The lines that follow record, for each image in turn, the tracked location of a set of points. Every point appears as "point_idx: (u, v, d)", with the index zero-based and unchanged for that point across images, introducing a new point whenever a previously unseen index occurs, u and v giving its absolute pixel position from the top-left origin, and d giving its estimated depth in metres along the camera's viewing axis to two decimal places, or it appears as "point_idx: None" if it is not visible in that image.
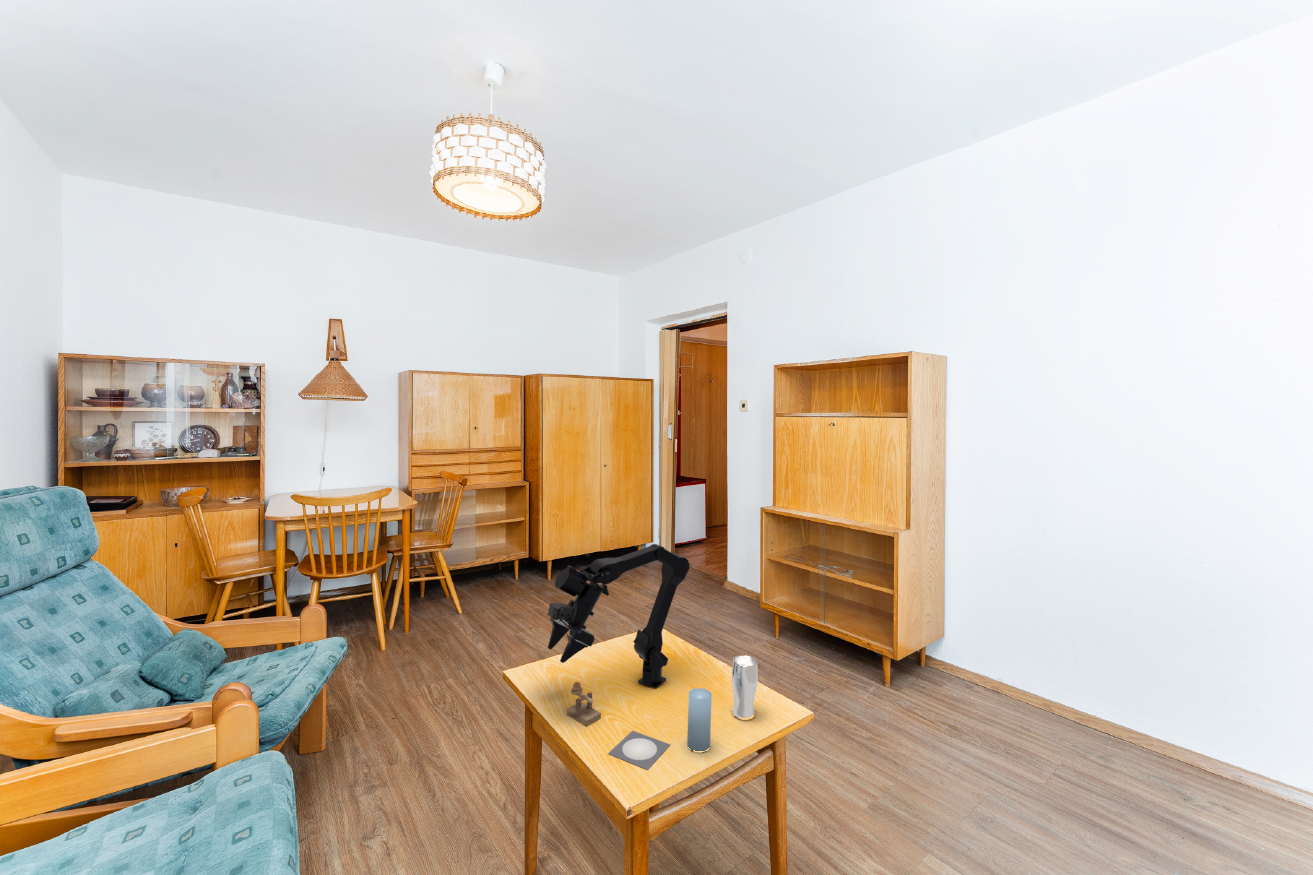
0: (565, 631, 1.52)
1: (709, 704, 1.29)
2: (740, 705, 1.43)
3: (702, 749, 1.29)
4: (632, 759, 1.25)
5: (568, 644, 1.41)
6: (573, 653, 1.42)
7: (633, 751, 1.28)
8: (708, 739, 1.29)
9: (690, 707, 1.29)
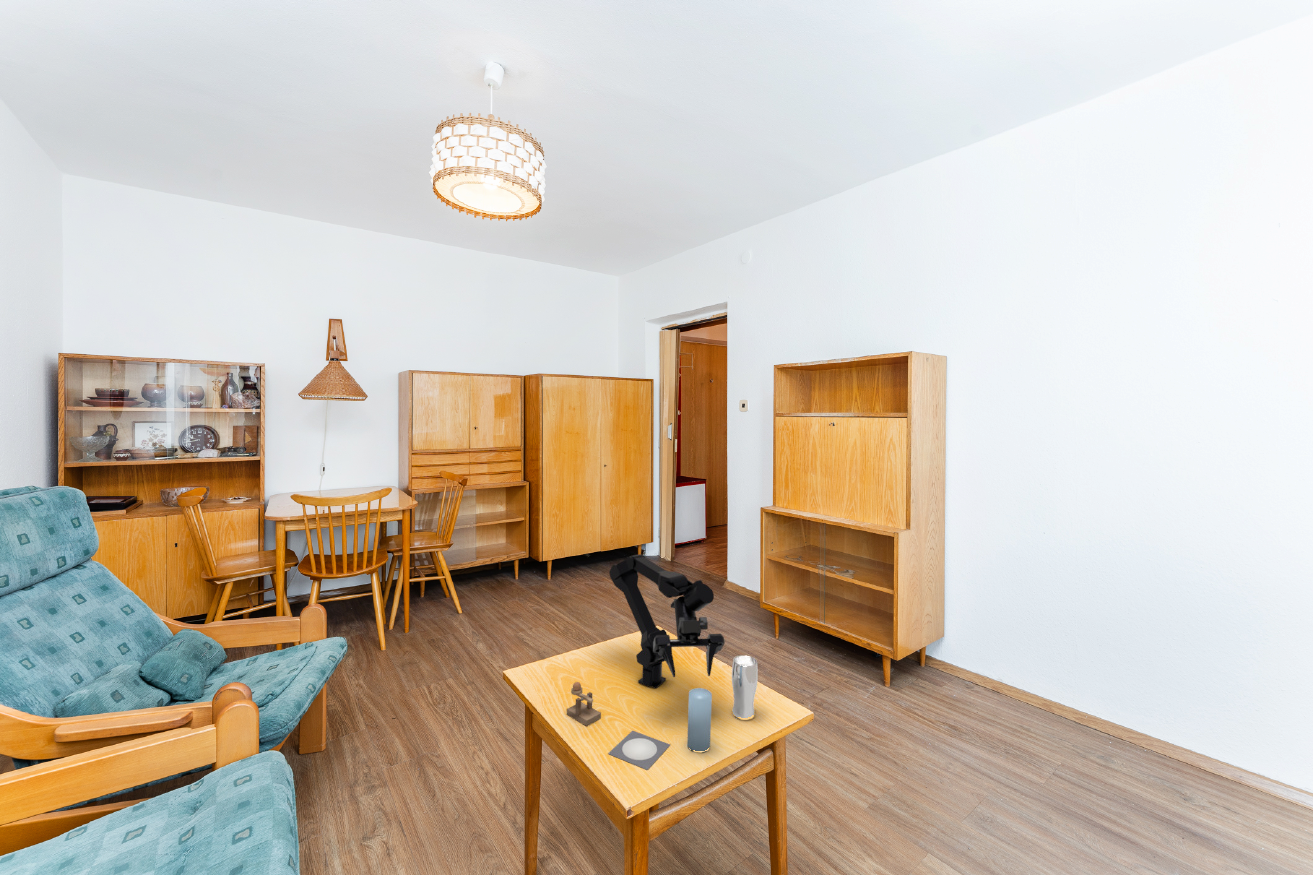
0: None
1: (710, 704, 1.29)
2: (740, 705, 1.43)
3: (702, 749, 1.29)
4: (632, 759, 1.25)
5: (711, 654, 1.41)
6: None
7: (633, 751, 1.28)
8: (708, 739, 1.29)
9: (690, 707, 1.29)
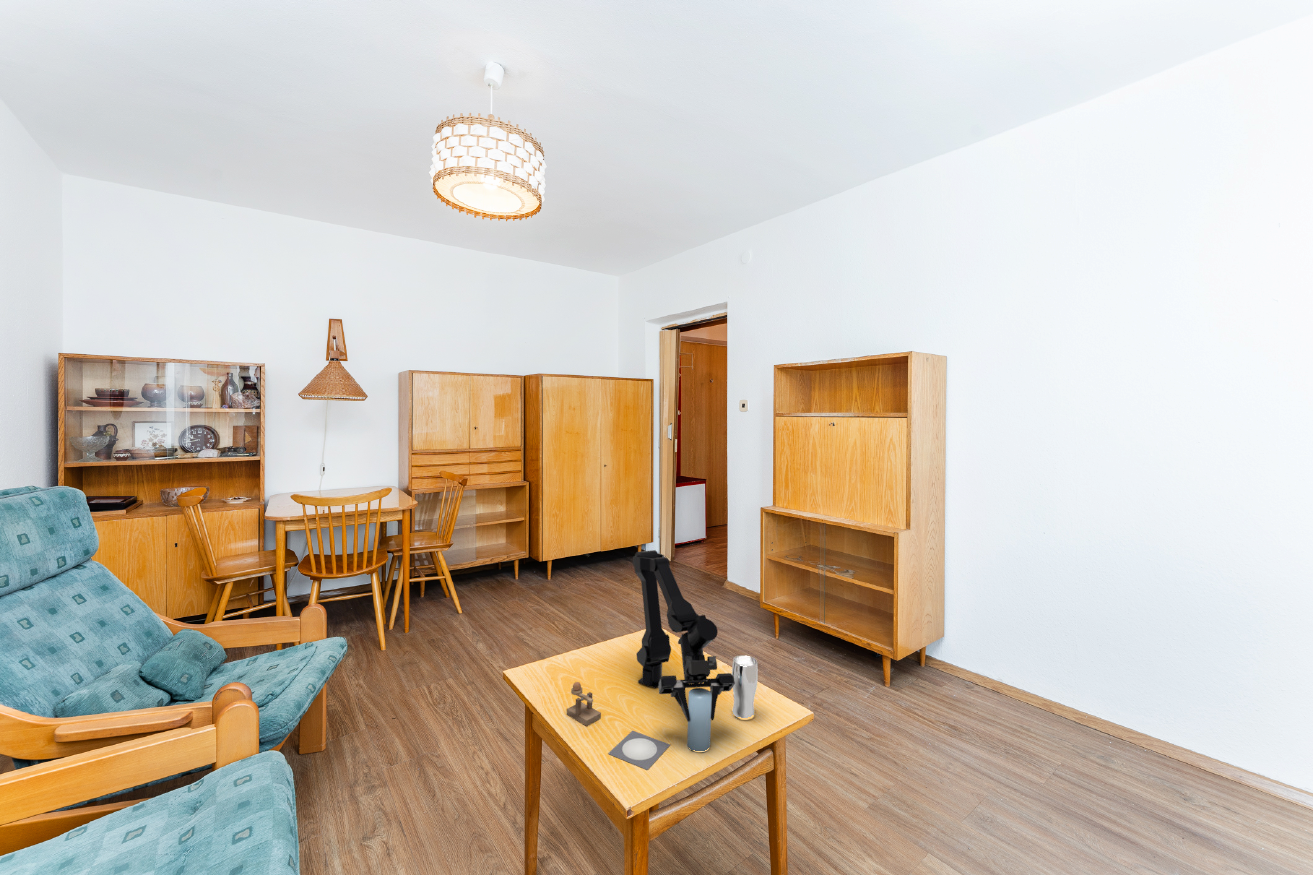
0: None
1: (709, 704, 1.29)
2: (740, 705, 1.43)
3: (702, 749, 1.28)
4: (632, 759, 1.25)
5: (715, 696, 1.32)
6: None
7: (633, 751, 1.28)
8: (708, 739, 1.29)
9: (690, 707, 1.29)
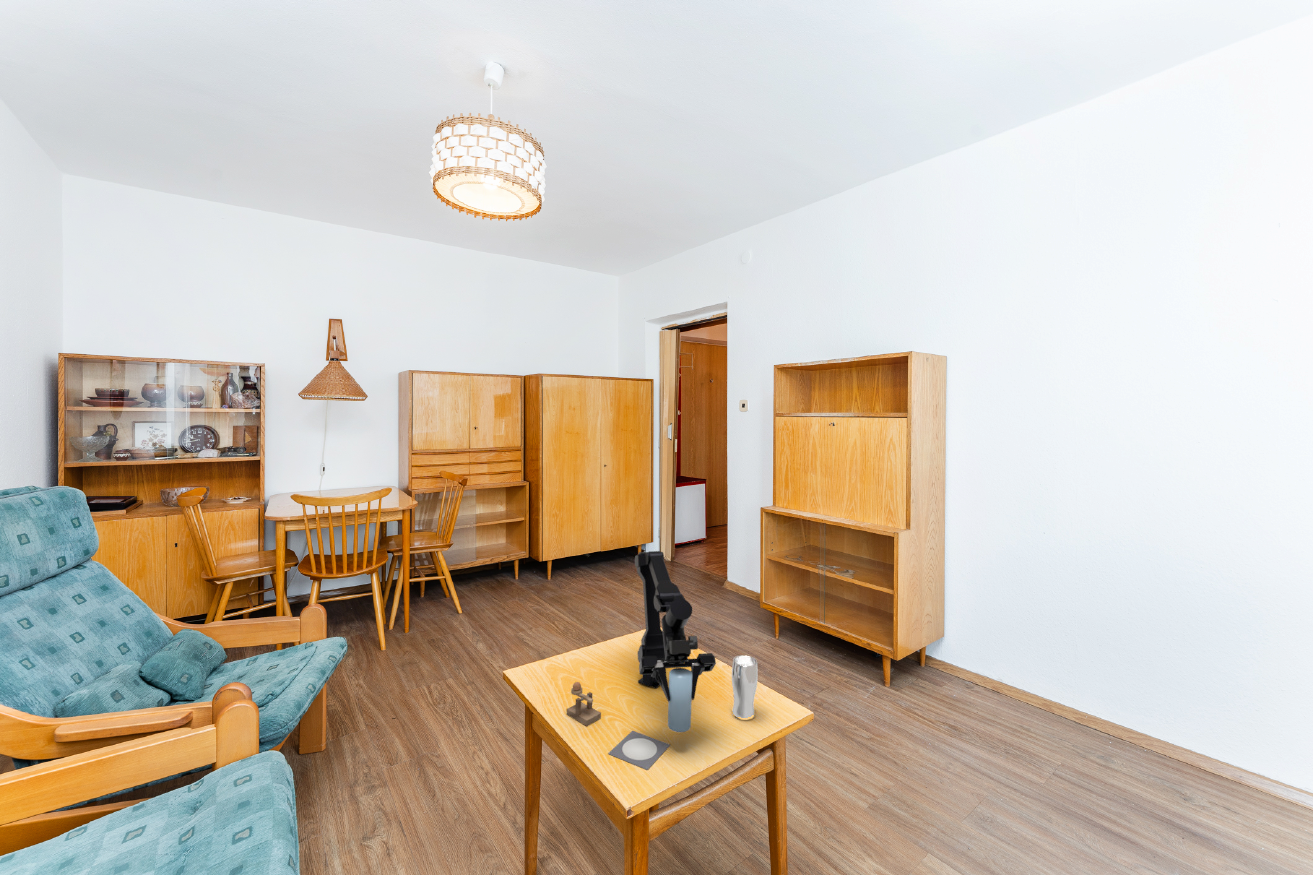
0: None
1: (690, 683, 1.28)
2: (740, 705, 1.43)
3: (682, 728, 1.28)
4: (632, 759, 1.25)
5: (695, 676, 1.32)
6: None
7: (633, 751, 1.28)
8: (689, 718, 1.29)
9: (670, 686, 1.28)
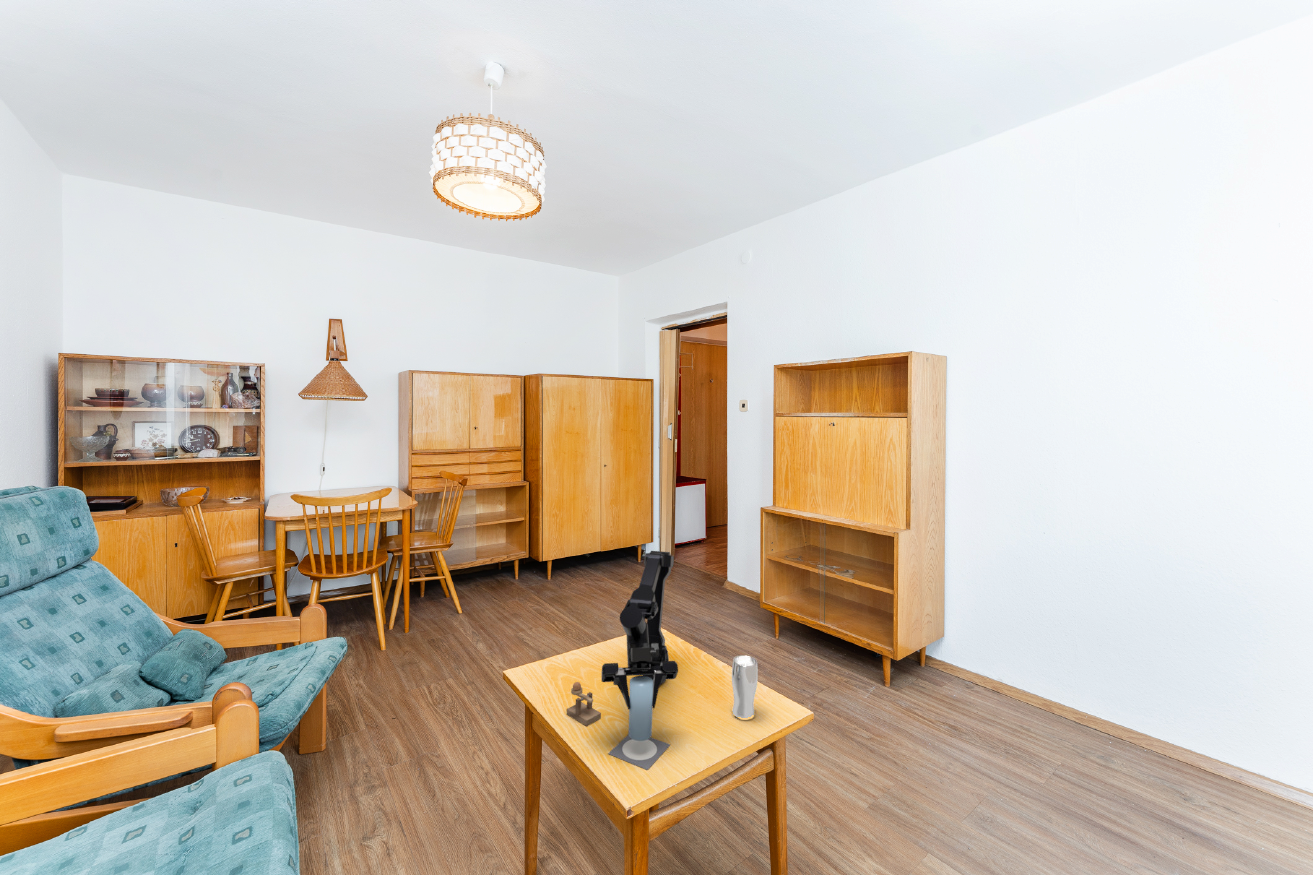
0: None
1: (650, 691, 1.27)
2: (740, 705, 1.43)
3: (642, 737, 1.26)
4: (632, 759, 1.25)
5: (657, 684, 1.30)
6: None
7: (633, 751, 1.28)
8: (649, 727, 1.27)
9: (631, 694, 1.27)
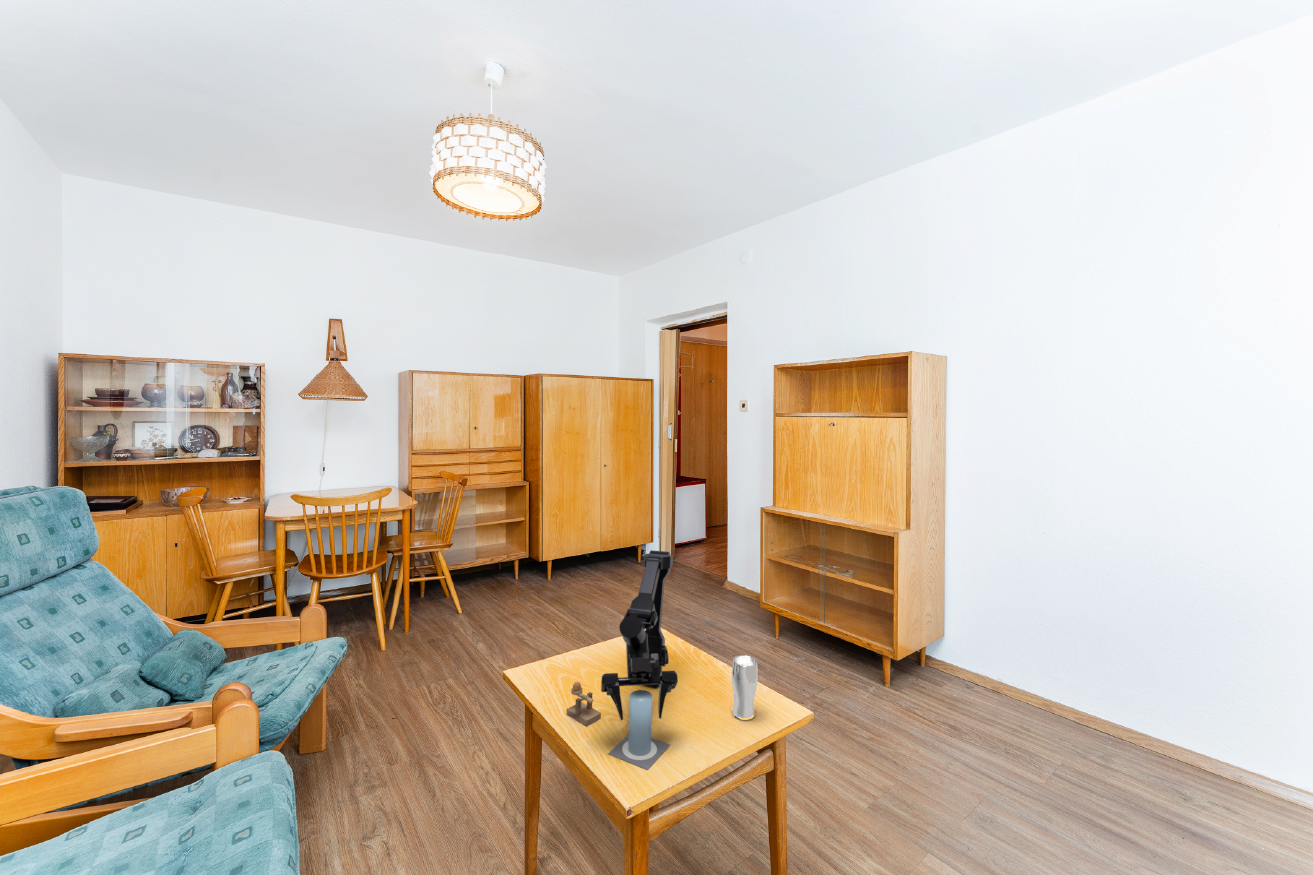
0: None
1: (650, 706, 1.27)
2: (740, 705, 1.43)
3: (642, 752, 1.26)
4: (632, 759, 1.25)
5: (663, 694, 1.30)
6: None
7: None
8: (648, 742, 1.27)
9: (630, 709, 1.27)
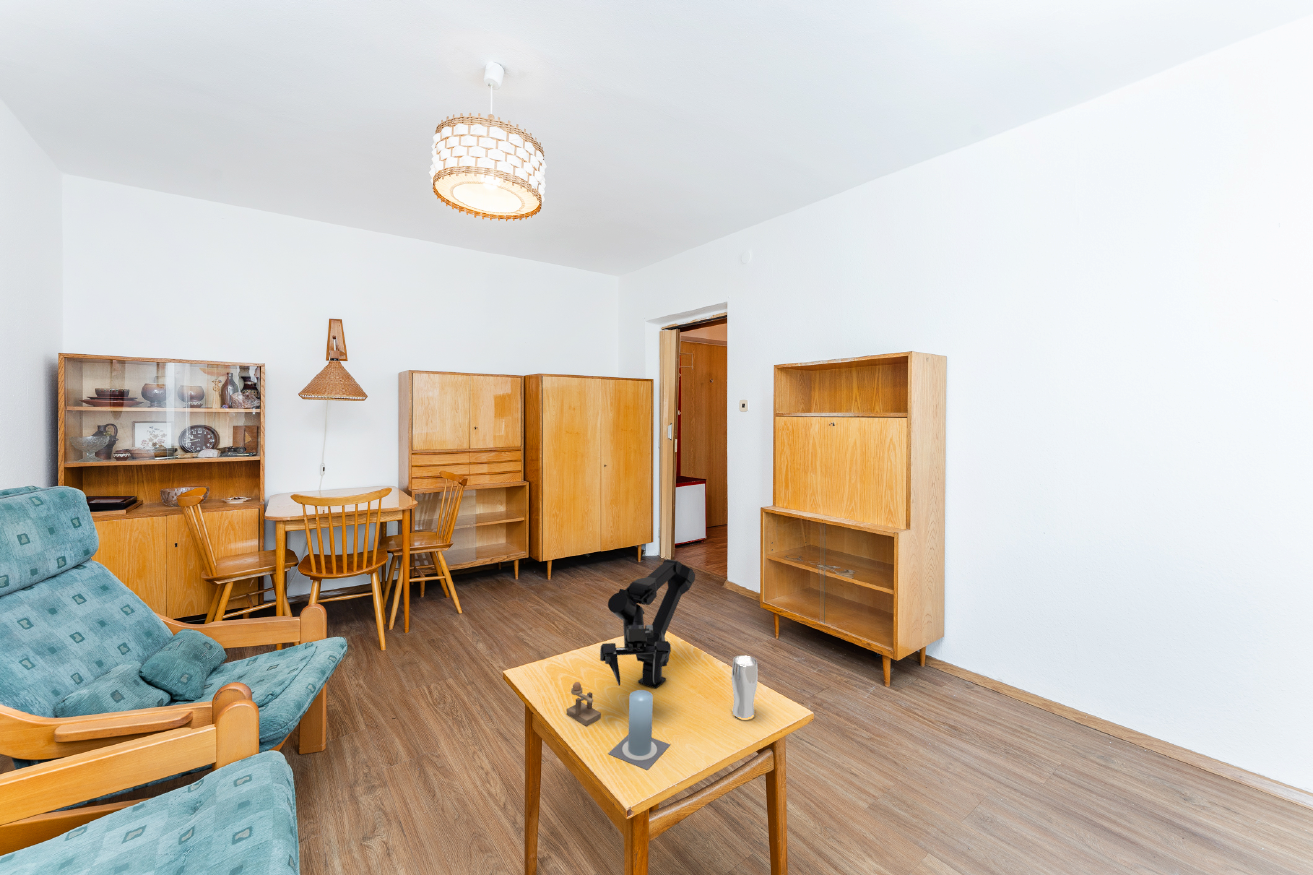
0: None
1: (650, 706, 1.27)
2: (740, 705, 1.43)
3: (642, 752, 1.26)
4: (632, 759, 1.25)
5: (657, 661, 1.42)
6: None
7: None
8: (648, 742, 1.27)
9: (630, 709, 1.27)
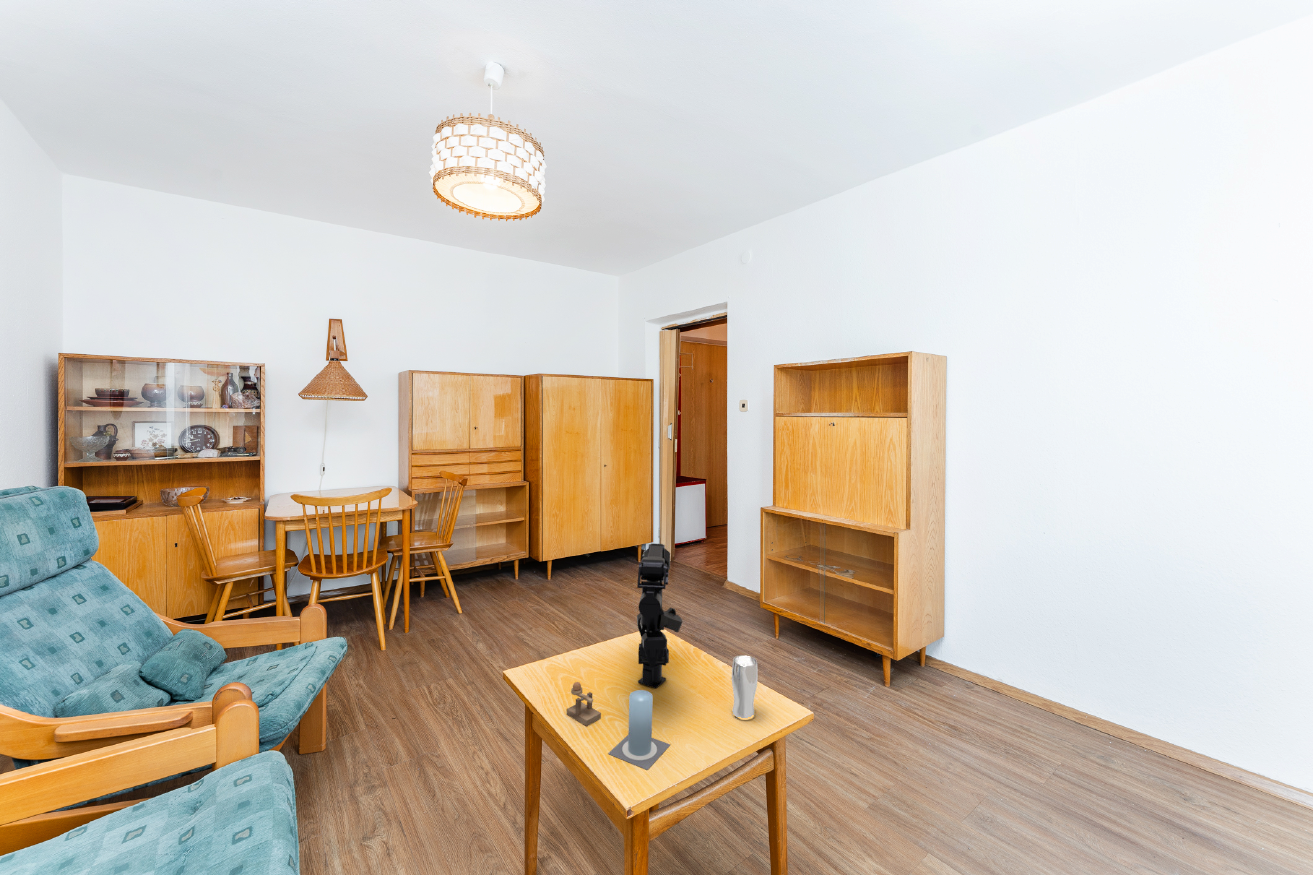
0: None
1: (650, 706, 1.27)
2: (740, 705, 1.43)
3: (642, 752, 1.26)
4: (632, 759, 1.25)
5: None
6: None
7: None
8: (648, 742, 1.27)
9: (630, 709, 1.27)
